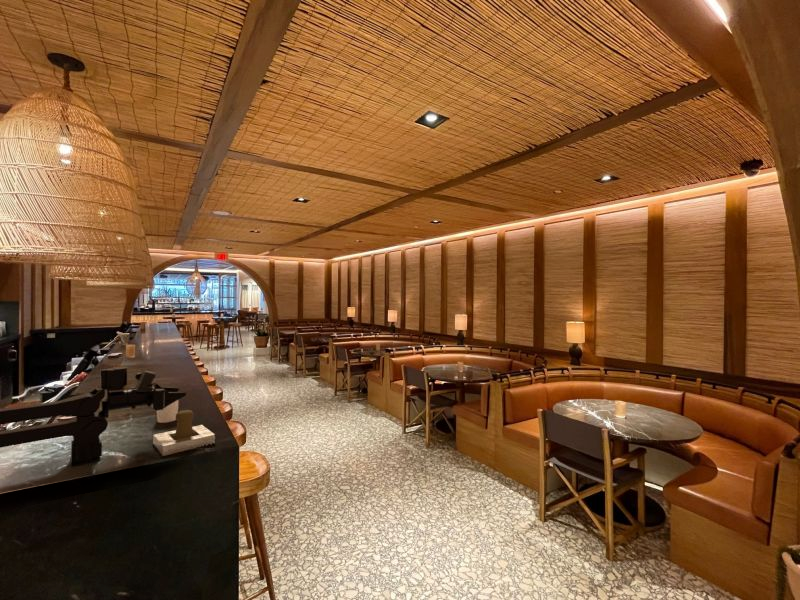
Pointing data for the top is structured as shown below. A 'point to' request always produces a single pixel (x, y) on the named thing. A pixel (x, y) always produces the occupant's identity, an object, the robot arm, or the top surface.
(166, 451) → the socket block
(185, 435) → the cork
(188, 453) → the top surface
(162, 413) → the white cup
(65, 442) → the top surface
